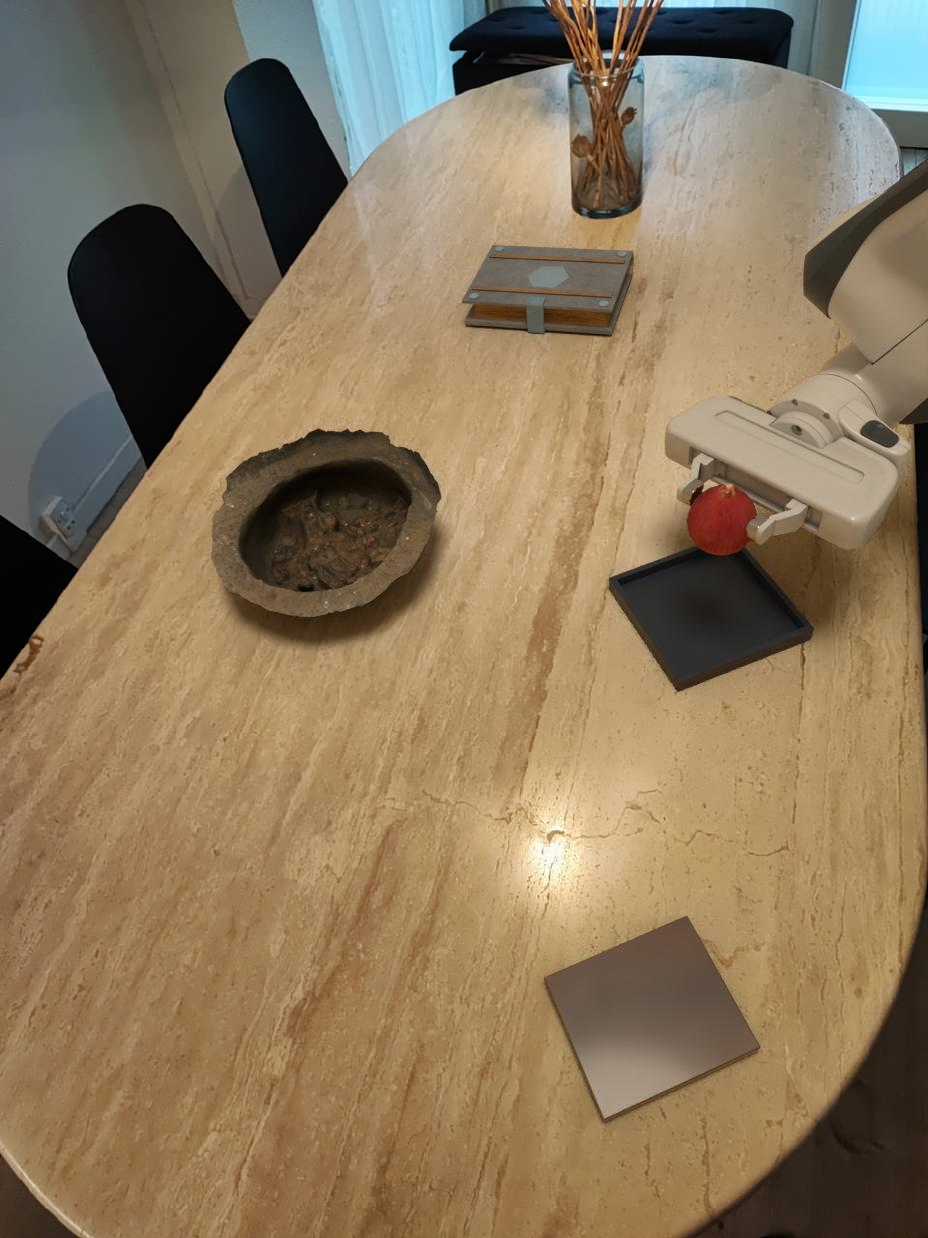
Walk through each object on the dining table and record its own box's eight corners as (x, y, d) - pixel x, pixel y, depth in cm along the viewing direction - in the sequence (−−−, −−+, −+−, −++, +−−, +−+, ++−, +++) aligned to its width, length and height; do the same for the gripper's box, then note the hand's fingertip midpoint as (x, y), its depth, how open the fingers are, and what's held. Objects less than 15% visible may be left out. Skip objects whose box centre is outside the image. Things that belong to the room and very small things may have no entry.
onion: (670, 551, 77) (676, 485, 71) (712, 518, 79) (721, 451, 73) (722, 585, 74) (733, 518, 68) (765, 549, 76) (779, 481, 69)
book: (633, 274, 125) (634, 241, 121) (610, 338, 116) (611, 305, 112) (496, 267, 131) (493, 236, 127) (464, 328, 122) (460, 296, 118)
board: (758, 1051, 60) (761, 1047, 59) (603, 1123, 58) (603, 1120, 57) (686, 920, 66) (687, 915, 65) (544, 982, 64) (543, 977, 64)
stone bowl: (384, 453, 106) (372, 394, 98) (487, 588, 92) (482, 531, 85) (196, 536, 100) (169, 479, 92) (277, 692, 86) (252, 641, 79)
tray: (811, 639, 81) (814, 628, 80) (677, 692, 79) (679, 681, 78) (730, 543, 90) (732, 531, 89) (608, 588, 88) (608, 577, 87)
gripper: (721, 363, 80) (623, 437, 75) (930, 452, 69) (832, 546, 64) (714, 417, 85) (622, 490, 80) (909, 509, 74) (816, 600, 69)
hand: (717, 516), depth 72 cm, fingers closed on onion, 6 cm apart
